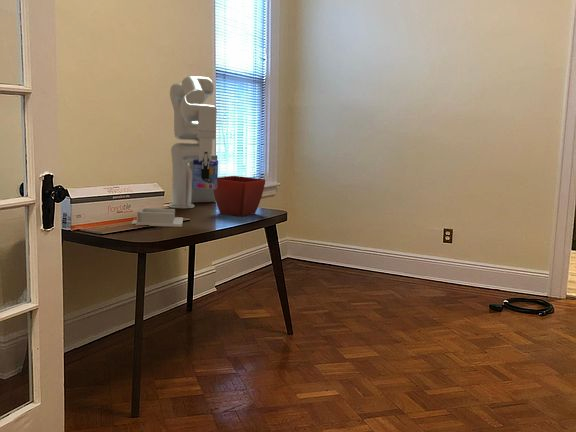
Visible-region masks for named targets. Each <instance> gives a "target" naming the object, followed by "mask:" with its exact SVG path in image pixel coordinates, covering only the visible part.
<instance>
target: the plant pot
mask: <svg viewBox="0 0 576 432" xmlns="http://www.w3.org/2000/svg"><path fill="white" fill-rule="evenodd" d="M265 185H266V179H263V178H255V177H248V176H240V175H239V176H238V175H229V176H221V177H220V176H219V177H218V180H217V188H216V189H214V190H213V191H214V196H215V200H216V202H215V203H216V207H217V209H218V212H219V214H223V215H229V216H235V215H236V216H237V217H246V216H250V215H254V214H256V212H257V210H258V208H259V205H260V202H261V199H262V196H263V193H264V189H265ZM253 213H254V214H253ZM245 215H246V216H245ZM236 216H235V217H236Z"/></svg>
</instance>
